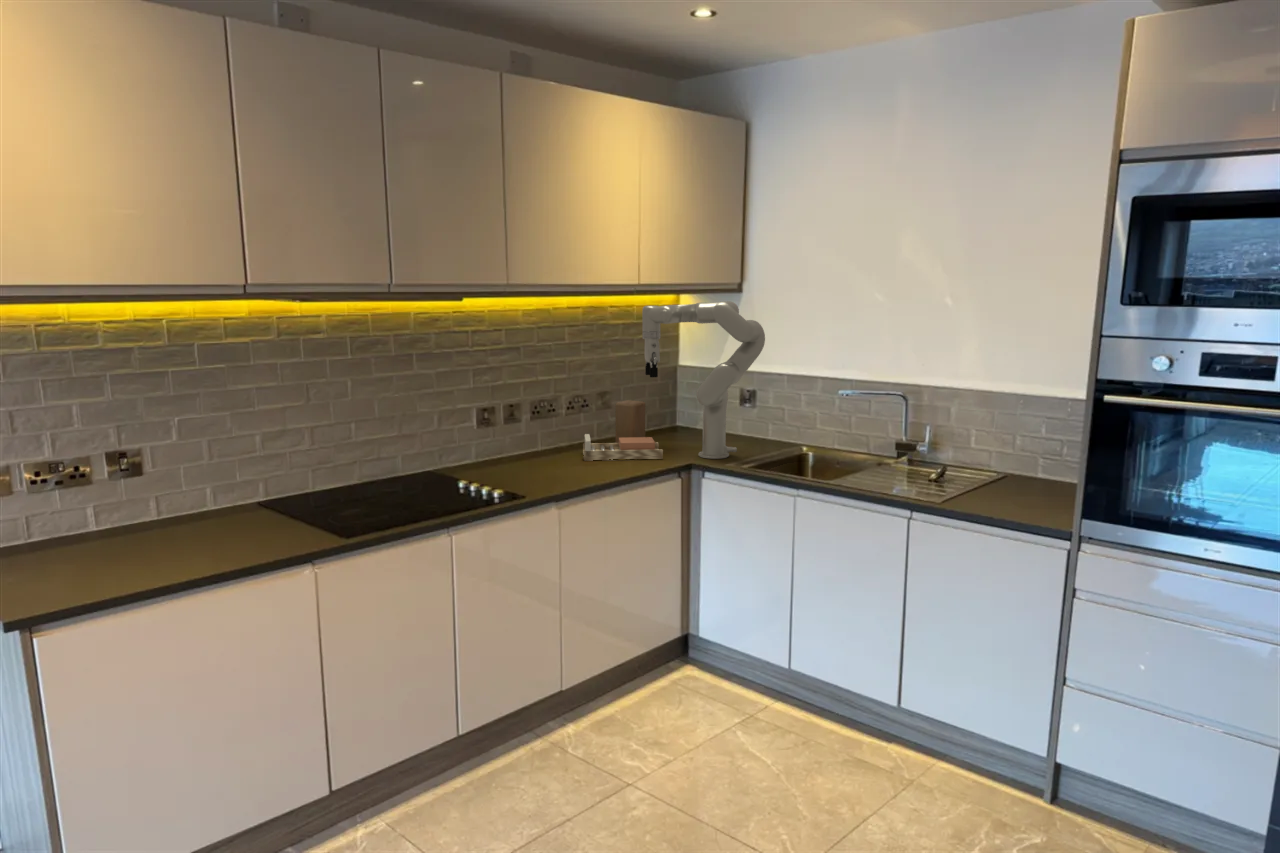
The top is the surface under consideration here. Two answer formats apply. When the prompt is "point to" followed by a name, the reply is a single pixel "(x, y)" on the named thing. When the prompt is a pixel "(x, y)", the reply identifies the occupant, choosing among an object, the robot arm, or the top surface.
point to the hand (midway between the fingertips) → (651, 376)
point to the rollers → (603, 447)
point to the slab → (637, 443)
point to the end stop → (587, 443)
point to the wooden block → (630, 419)
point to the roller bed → (620, 453)
